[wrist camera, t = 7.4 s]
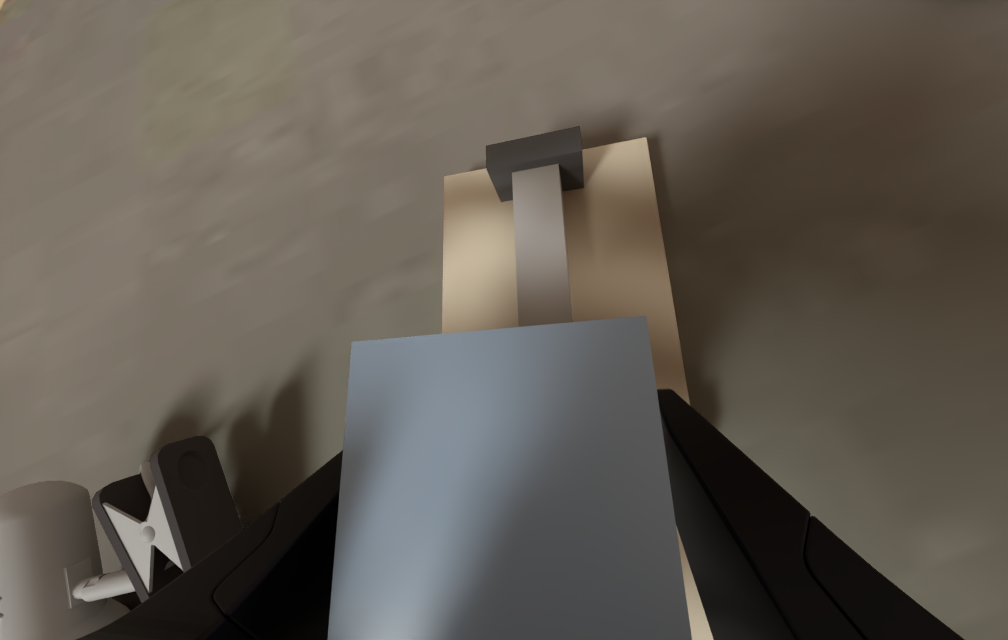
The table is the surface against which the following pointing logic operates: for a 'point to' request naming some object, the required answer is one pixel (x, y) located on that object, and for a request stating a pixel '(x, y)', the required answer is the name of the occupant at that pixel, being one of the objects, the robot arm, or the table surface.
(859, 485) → the table surface
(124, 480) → the clip-on lamp
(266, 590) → the robot arm
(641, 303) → the rail
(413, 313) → the table surface
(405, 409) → the pale blue rectangular block
